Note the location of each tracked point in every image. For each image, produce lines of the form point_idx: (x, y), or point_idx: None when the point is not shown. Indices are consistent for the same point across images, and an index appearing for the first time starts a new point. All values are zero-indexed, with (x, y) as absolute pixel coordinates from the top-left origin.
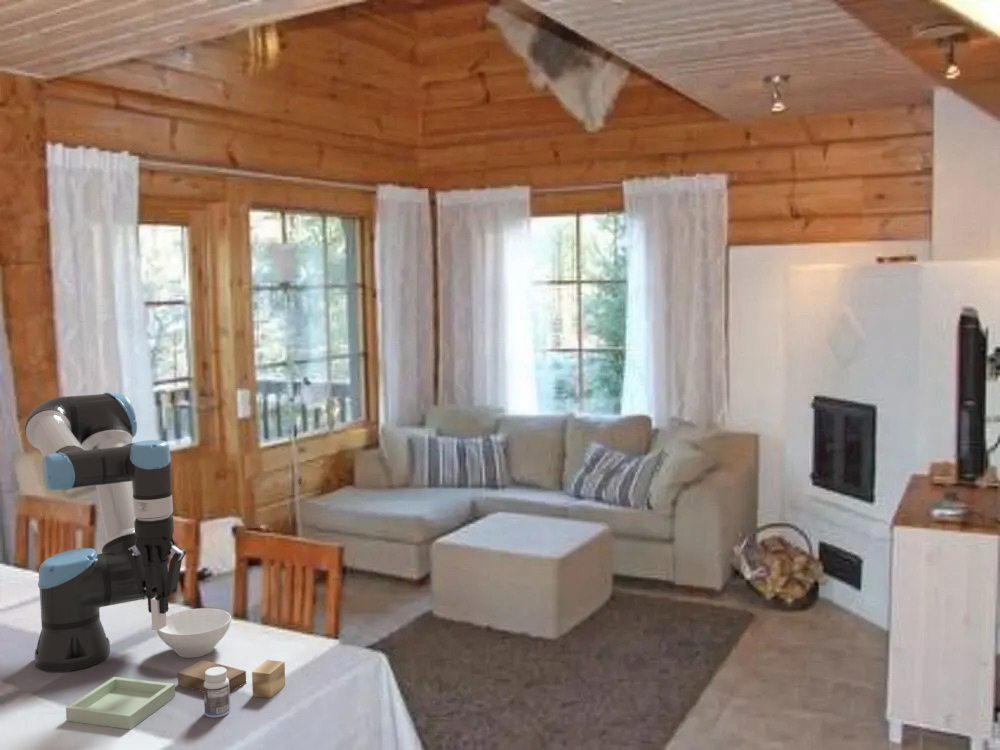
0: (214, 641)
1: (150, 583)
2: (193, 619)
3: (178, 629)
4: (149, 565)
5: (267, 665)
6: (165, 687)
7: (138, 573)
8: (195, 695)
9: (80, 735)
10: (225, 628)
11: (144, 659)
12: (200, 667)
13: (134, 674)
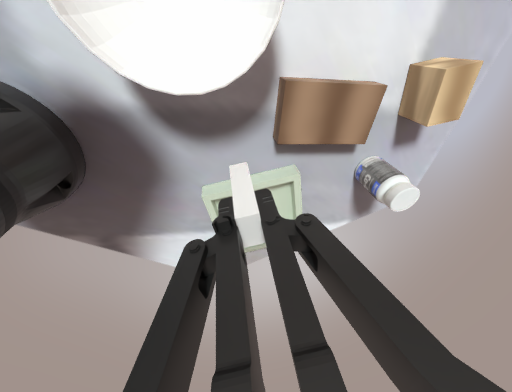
0: None
1: (250, 294)
2: None
3: None
4: (263, 388)
5: (450, 92)
6: (295, 185)
7: (198, 348)
8: (318, 149)
9: (263, 250)
10: None
11: (127, 84)
12: (301, 111)
13: (180, 142)
